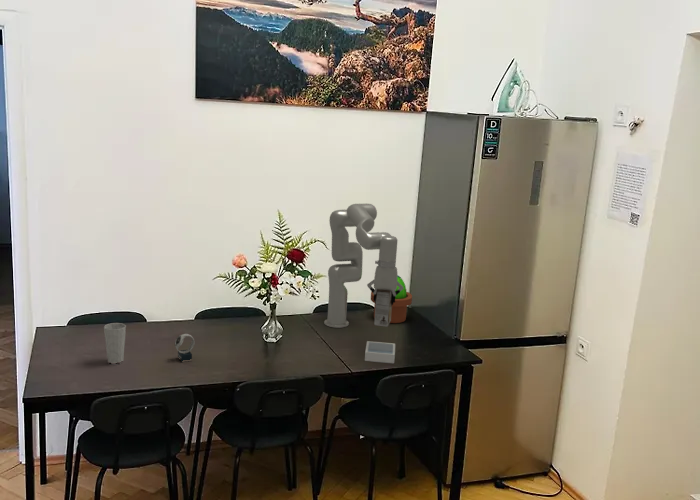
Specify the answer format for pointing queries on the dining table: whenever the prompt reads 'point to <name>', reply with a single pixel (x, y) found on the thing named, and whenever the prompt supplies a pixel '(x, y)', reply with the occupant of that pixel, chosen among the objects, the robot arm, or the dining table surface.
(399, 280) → the potted cactus
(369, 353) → the shallow grey tray
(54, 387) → the dining table surface
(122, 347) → the cup
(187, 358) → the watch
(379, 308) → the coffee box
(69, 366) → the dining table surface
